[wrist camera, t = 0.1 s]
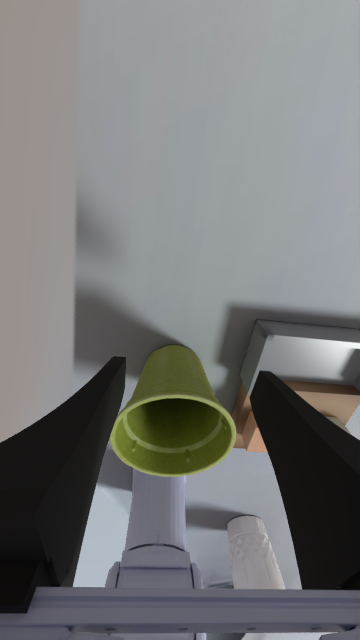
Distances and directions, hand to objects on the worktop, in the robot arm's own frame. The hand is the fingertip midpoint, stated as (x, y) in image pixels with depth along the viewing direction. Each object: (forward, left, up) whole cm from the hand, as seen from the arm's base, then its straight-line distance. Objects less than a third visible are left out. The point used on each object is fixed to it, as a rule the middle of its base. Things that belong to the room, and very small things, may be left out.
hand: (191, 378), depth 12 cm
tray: (-4, -14, -10) cm, 18 cm away
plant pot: (-7, 0, -10) cm, 13 cm away
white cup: (-43, -17, -10) cm, 47 cm away
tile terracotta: (-13, -11, -8) cm, 19 cm away
